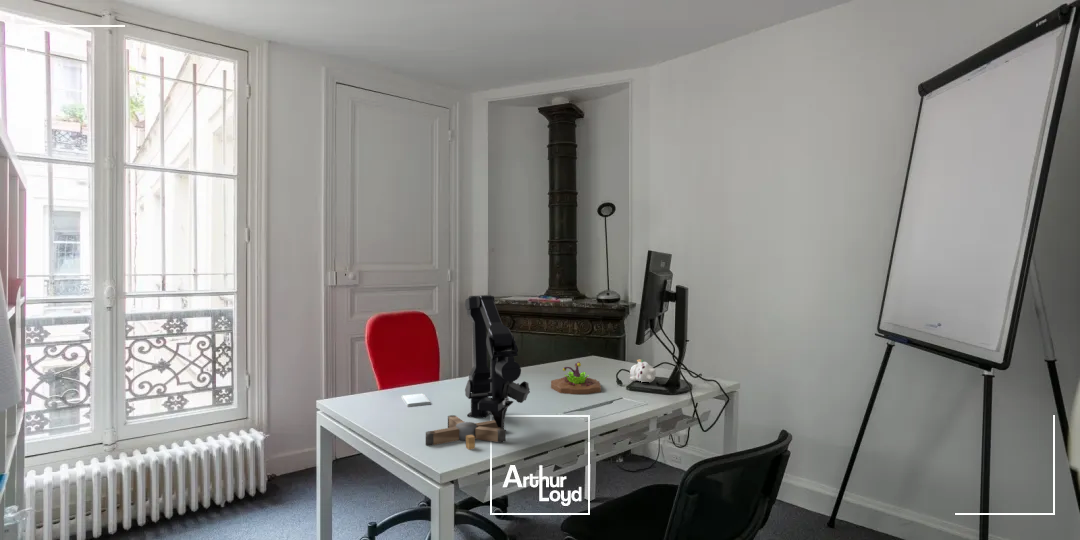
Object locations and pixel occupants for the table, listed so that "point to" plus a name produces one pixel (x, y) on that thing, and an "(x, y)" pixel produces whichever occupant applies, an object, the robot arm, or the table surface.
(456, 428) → the stool base
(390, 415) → the table surface
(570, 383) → the plant
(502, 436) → the folding leg
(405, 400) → the hard drive
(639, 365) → the cat figurine
